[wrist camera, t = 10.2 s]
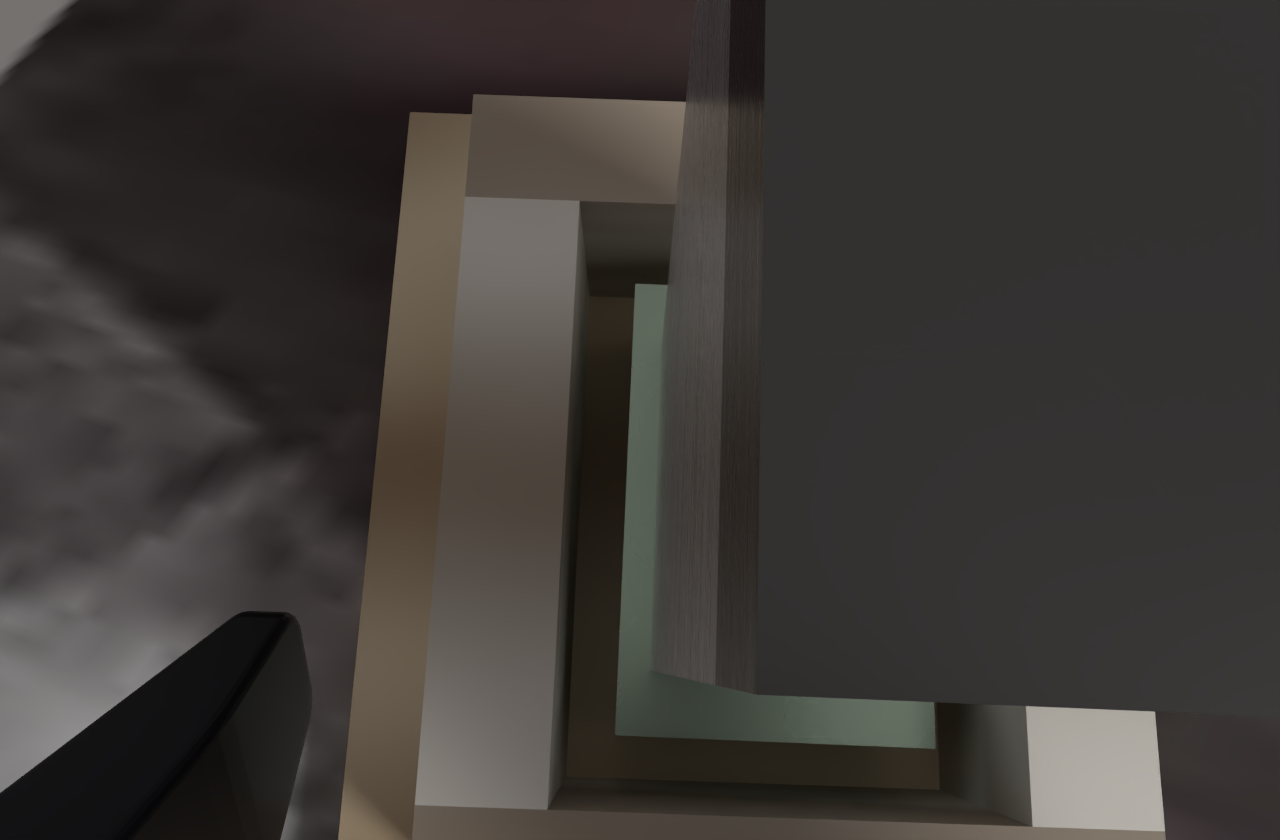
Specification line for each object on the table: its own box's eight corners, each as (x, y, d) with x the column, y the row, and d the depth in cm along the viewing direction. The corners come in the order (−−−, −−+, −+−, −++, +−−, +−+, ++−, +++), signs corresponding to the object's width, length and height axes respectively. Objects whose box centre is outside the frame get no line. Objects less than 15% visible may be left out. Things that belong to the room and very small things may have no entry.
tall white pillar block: (886, 735, 15) (2713, 1233, 2) (617, 723, 15) (530, 1134, 2) (879, 350, 16) (1883, -913, 3) (634, 340, 16) (655, -970, 3)
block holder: (1145, 1020, 15) (1358, 1165, 11) (340, 992, 15) (221, 1126, 11) (1079, 165, 18) (1221, 8, 14) (422, 141, 18) (356, -24, 14)
